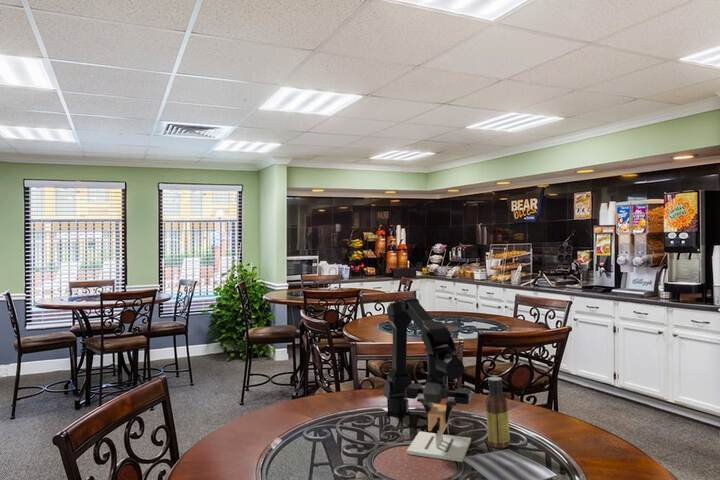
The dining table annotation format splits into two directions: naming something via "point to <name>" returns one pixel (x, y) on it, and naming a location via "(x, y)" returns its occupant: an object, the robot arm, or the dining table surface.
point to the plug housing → (436, 412)
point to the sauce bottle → (497, 415)
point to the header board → (439, 446)
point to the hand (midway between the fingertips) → (438, 422)
